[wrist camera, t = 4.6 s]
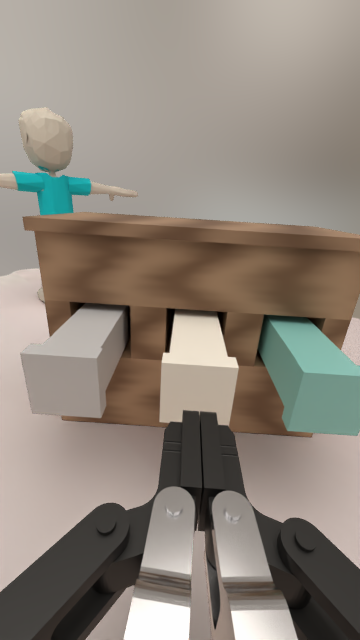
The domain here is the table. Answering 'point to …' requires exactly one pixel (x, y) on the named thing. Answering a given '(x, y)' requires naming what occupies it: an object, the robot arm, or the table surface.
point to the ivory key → (197, 369)
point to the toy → (52, 166)
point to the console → (195, 295)
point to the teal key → (310, 377)
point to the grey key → (77, 362)
